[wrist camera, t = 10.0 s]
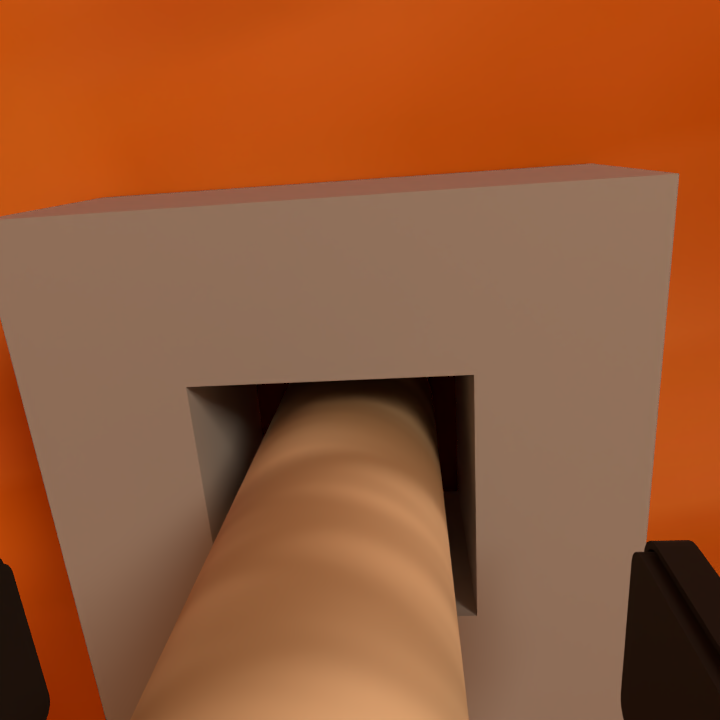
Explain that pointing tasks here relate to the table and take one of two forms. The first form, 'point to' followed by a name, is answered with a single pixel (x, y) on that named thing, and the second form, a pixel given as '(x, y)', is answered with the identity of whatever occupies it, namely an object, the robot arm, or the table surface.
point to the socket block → (357, 362)
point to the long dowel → (325, 573)
